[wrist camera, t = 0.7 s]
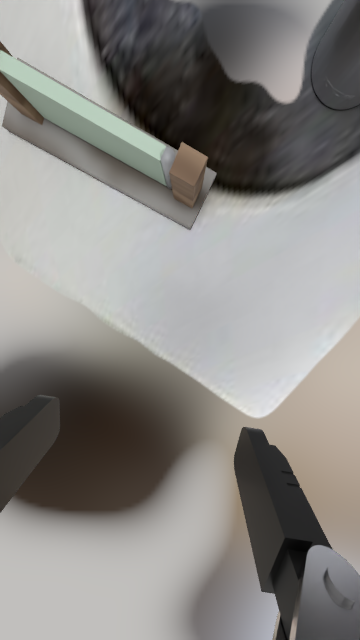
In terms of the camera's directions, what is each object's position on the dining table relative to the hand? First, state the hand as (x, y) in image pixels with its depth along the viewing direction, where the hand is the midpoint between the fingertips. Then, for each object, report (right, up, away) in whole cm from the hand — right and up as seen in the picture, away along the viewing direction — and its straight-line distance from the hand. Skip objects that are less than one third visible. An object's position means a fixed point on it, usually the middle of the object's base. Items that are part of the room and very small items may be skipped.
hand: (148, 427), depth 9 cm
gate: (-8, +28, +18) cm, 34 cm away
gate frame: (-8, +29, +20) cm, 36 cm away
